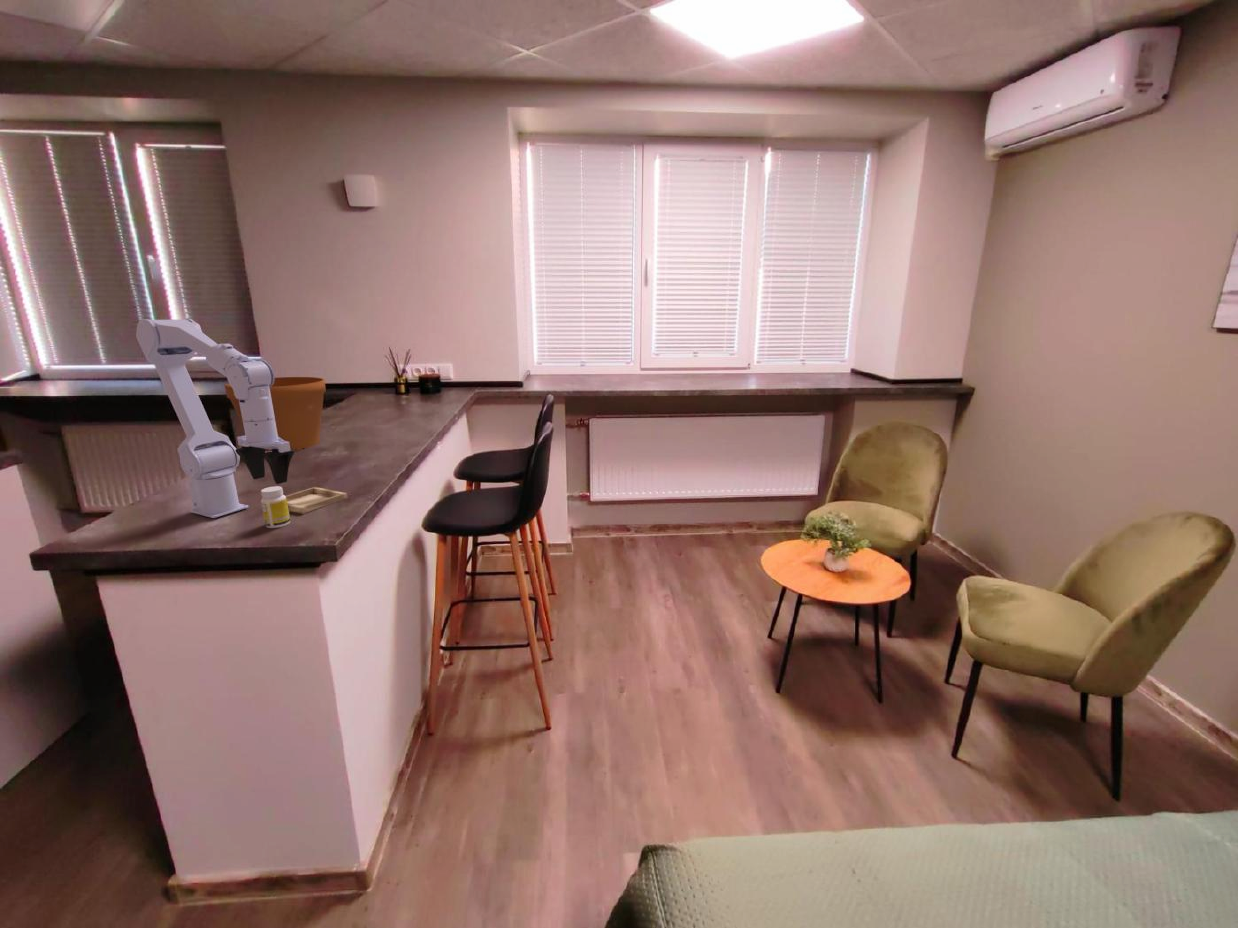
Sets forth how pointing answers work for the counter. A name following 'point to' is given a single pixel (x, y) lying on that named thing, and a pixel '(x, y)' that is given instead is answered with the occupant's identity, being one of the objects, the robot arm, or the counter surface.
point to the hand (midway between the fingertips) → (270, 480)
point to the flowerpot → (293, 409)
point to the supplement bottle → (274, 507)
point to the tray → (312, 499)
